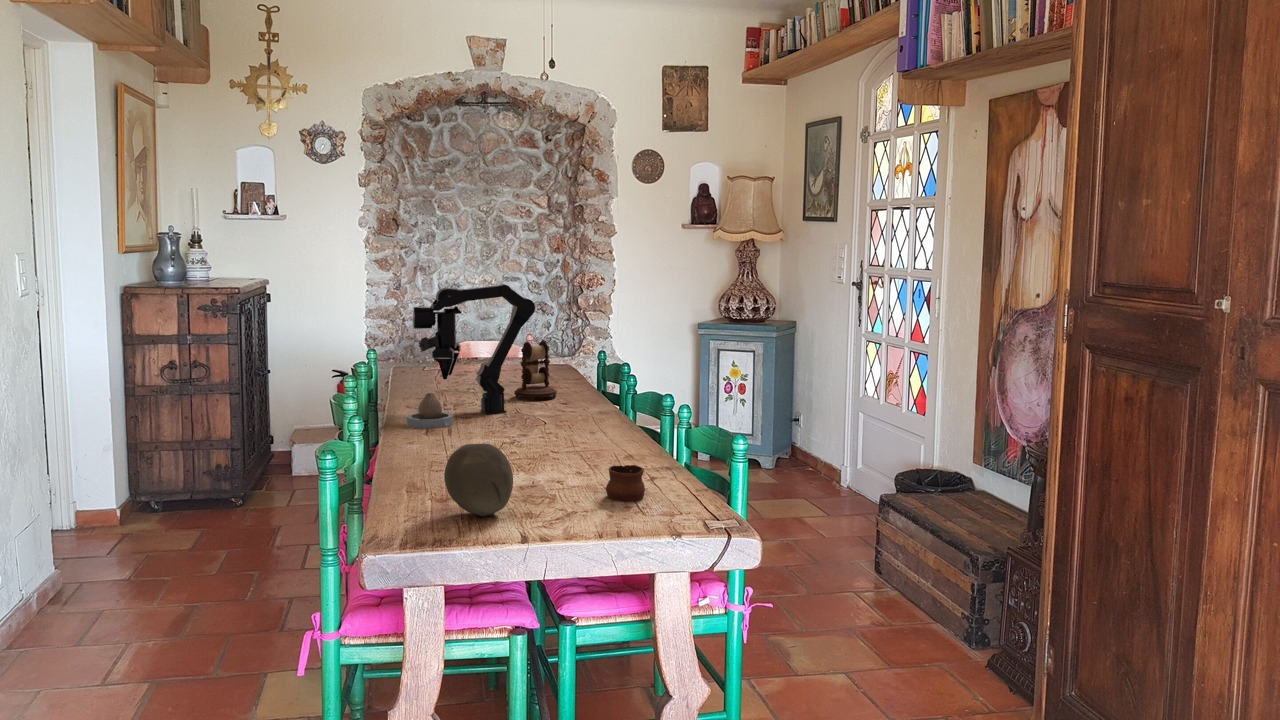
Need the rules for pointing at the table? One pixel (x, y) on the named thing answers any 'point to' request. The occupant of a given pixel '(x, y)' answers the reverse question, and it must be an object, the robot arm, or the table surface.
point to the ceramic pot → (625, 483)
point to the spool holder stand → (535, 372)
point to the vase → (430, 407)
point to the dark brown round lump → (479, 478)
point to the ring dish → (429, 421)
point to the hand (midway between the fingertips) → (447, 377)
